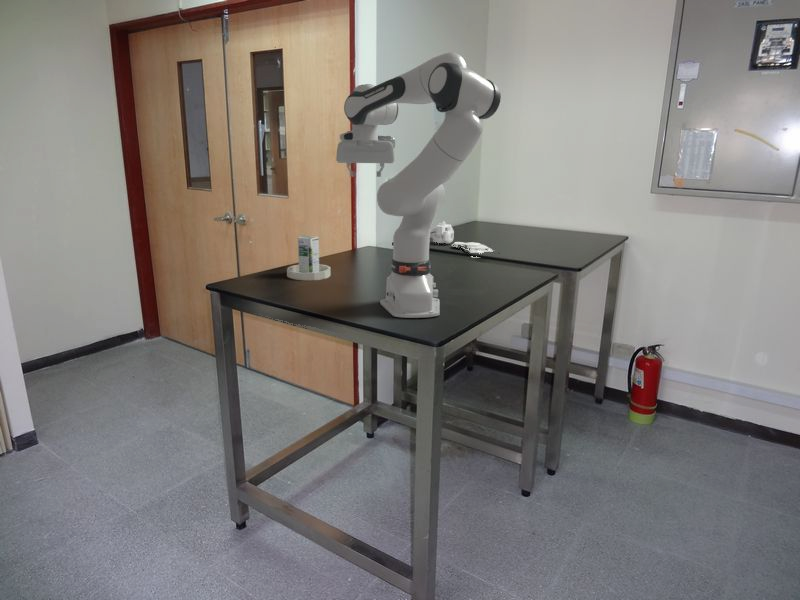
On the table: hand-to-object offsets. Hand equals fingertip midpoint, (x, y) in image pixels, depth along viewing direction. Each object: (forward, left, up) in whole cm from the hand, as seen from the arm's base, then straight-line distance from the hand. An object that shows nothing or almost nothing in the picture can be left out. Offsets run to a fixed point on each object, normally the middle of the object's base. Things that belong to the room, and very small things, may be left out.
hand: (365, 176), depth 190 cm
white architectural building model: (+49, -56, -38) cm, 83 cm away
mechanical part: (+69, -42, -37) cm, 89 cm away
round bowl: (+6, +21, -37) cm, 43 cm away
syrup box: (+6, +21, -37) cm, 43 cm away
